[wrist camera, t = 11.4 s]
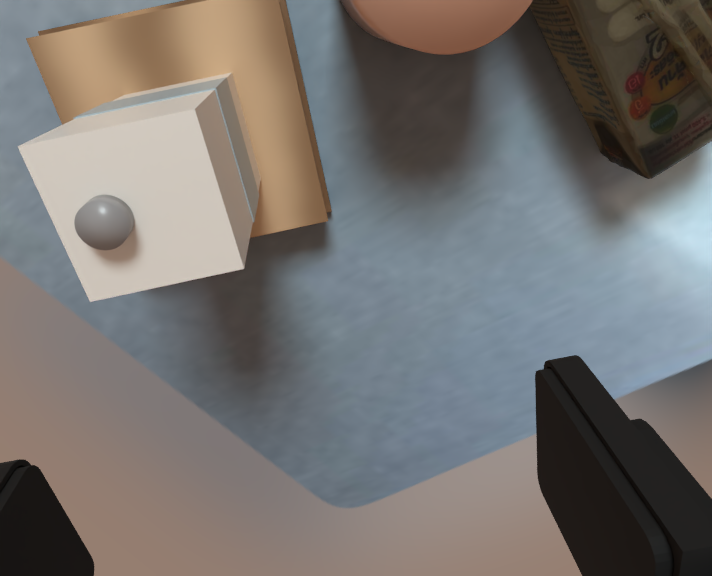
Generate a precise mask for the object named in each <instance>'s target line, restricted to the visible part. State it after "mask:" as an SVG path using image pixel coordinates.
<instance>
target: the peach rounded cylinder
mask: <svg viewBox="0 0 712 576" xmlns="http://www.w3.org/2000/svg"><path fill="white" fill-rule="evenodd" d="M532 1H533V0H341V2H342V4H343V6H344V8H345V9H346V11H347V12H348V14H349V15H350V17H351V18H352V19H353V20H354V21H355V22H356V23H357V24H358V25H359V26H360V27H361V28H362V29H363V30H364V31H366V32H367V33H369V34H370V35H372V36H374V37H376V38H378V39H380V40H383V41H386V42H389V43H393V44H397V45H400V46H404V47H407V48H411V49H414V50H418V51H422V52H425V53H432V54H457V53H463V52H467V51H471V50H474V49H477V48H479V47H481V46H484V45H486V44H488V43H489V42H491V41H493V40H494V39H496V38H498V37H499V36H501V35H502V34H503V33H504V32H506V31H507V30H508V29H509V28H510V27H511V26H512V25H513V24H514V23H515V22H517V21H518V20H519V18H520V17H521V16H522V15H523V13H524V12H525V11H526V10H527V9H528V7H529V6H530V4H531V3H532Z"/></svg>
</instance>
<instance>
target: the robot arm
mask: <svg viewBox="0 0 712 576" xmlns="http://www.w3.org/2000/svg"><path fill="white" fill-rule="evenodd" d="M535 383H536V428H537V472H538V481H539V485H540V488H541V491H542V494H543V496H544V498H545V500H546V502H547V504H548V506H549V508H550V511H551V513H552V515H553V517H554V519H555V521H556V523H557V525H558V527H559V529H560V531H561V533H562V535H563V537H564V539H565V541H566V543H567V545H568V547H569V549H570V551H571V553H572V555H573V557H574V559H575V562H576V563H577V566H578V568H579V570H580V572H581V574H582V576H712V499H711V498H710V497H709V496H708V494H707V493H706V492H705V491H704V489H703V488H702V487H701V486H700V485H699V483H698V482H697V481H696V480H695V478H694V477H693V476H692V475H691V474H690V472H689V471H688V470H687V469H686V468H685V466H684V465H683V464H682V463H681V462H680V460H679V459H678V458H677V457H676V456H675V454H674V453H673V452H672V451H671V450H670V448H669V447H668V446H667V445H666V444H665V442H664V441H663V440H662V439H661V438H660V436H659V435H658V434H657V433H656V431H655V430H654V429H653V428H652V427H651V426H650V425H649V424H648V423H647V422H646V421H644V420H642V419H635V420H630V419H629V418H628V417H627V416H626V414H625V413H624V412H623V411H622V409H621V408H620V407H619V406H618V404H617V403H616V402H615V400H614V399H613V398H612V397H611V395H610V394H609V393H608V392H607V390H606V389H605V388H604V387H603V385H602V384H601V383H600V381H599V380H598V379H597V378H596V376H595V375H594V374H593V373H592V371H591V370H590V369H589V368H588V366H587V365H586V364H585V363H584V361H583V360H582V359H581V358H580V357H579V356H577V355H574V356H569V357H564V358H558V359H553V360H548V361H546V362H545V364H544V369H543V370H538V371H536V375H535ZM0 576H94V562H93V559H92V557H91V555H90V554H89V552H88V550H87V548H86V547H85V545H84V543H83V542H82V540H81V538H80V536H79V535H78V533H77V531H76V530H75V528H74V526H73V525H72V523H71V521H70V519H69V518H68V516H67V515H66V513H65V511H64V509H63V508H62V506H61V504H60V503H59V501H58V499H57V498H56V496H55V494H54V492H53V491H52V489H51V487H50V486H49V484H48V482H47V481H46V479H45V477H44V475H43V474H42V472H41V470H40V469H39V468H38V467H37V466H35V465H30V463H29V462H28V461H26V460H15V461H9V462H4V463H0Z"/></svg>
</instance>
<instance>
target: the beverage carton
mask: <svg viewBox="0 0 712 576" xmlns="http://www.w3.org/2000/svg"><path fill="white" fill-rule="evenodd" d="M529 7H530V9H531V11H532V13H533V15H534V17H535V19H536V21H537V23H538V25H539V27H540V29H541V31H542V34H543V36H544V38H545V40H546V42H547V44H548V46H549V48H550V50H551V53H552V55H553V57H554V59H555V61H556V63H557V65H558V67H559V69H560V71H561V73H562V75H563V77H564V79H565V81H566V83H567V85H568V87H569V90H570V92H571V94H572V96H573V98H574V100H575V102H576V104H577V106H578V107H579V109H580V111H581V113H582V115H583V117H584V118H585V120H586V122H587V124H588V126H589V128H590V130H591V132H592V134H593V136H594V138H595V140H596V142H597V145H598V147H599V149H600V152H601V153H602V154H603V155H604V156H606V157H607V158H608V159H609V161H611V162H614V163H616V164H618V165H619V166H621V167H624V168H627V169H630V170H632V171H634V172H635V173H637V174H639V175H641V176H643V177H645V178H647V179H650V178H653V177H655V176H656V175H658V174H660V173H662V172H663V171H665V170H666V169H668V168H670V167H671V166H673V165H674V164H676V163H677V162H679V161H681V160H682V159H684V158H686V157H687V156H688V155H690V154H691V153H693V152H694V151H696V150H698V149H699V148H701V147H702V146H704V145H706V144H707V143H709V142H711V141H712V0H533V1H532V3H531V4H530V6H529Z"/></svg>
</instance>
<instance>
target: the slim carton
mask: <svg viewBox="0 0 712 576" xmlns="http://www.w3.org/2000/svg"><path fill="white" fill-rule="evenodd" d="M73 119H74V120H71V121H69V122H67V123H65V124H63V125H61V126H59V127H57V128H55V129H53V130H51V131H49V132H47V133H45V134H42V135H40V136H38V137H36V138H34V139H32V140H30V141H28V142H26V143H24V144H22V145H20V146H18V148H19V150H20V153H21V155H22V157H23V159H24V161H25V163H26V165H27V168H28V170H29V172H30V174H31V176H32V178H33V180H34V183H35V185H36V187H37V189H38V191H39V193H40V195H41V198H42V200H43V202H44V204H45V206H46V208H47V210H48V213H49V215H50V217H51V219H52V221H53V223H54V225H55V228H56V230H57V232H58V234H59V236H60V238H61V240H62V243H63V245H64V247H65V249H66V251H67V253H68V255H69V258H70V260H71V262H72V264H73V266H74V268H75V270H76V273H77V275H78V277H79V279H80V281H81V283H82V285H83V288H84V290H85V292H86V294H87V296H88V298H89V300H90V302H92V301H97V300H101V299H106V298H111V297H115V296H120V295H125V294H129V293H134V292H139V291H143V290H148V289H153V288H157V287H162V286H167V285H171V284H176V283H181V282H185V281H190V280H195V279H199V278H204V277H209V276H213V275H218V274H223V273H227V272H232V271H237V270H241V269H244V267H245V262H246V256H247V251H248V246H249V240H250V235H251V229H252V224H253V222H255V216H256V210H257V205H258V199H259V186H260V181H261V177H260V173H259V169H258V166H257V162H256V158H255V155H254V151H253V147H252V143H251V140H250V136H249V132H248V129H247V125H246V121H245V118H244V114H243V110H242V107H241V103H240V99H239V96H238V92H237V88H236V84H235V81H234V77H233V73H232V72H231V73H227V74H222V75H217V76H212V77H208V78H203V79H198V80H193V81H189V82H184V83H179V84H174V85H170V86H165V87H160V88H155V89H151V90H146V91H141V92H136V93H132V94H127V95H123V96H121V97H119V98H117V99H115V100H113V101H111V102H106V103H103V104H101V105H99V106H97V107H95V108H93V109H91V110H88V111H86V112H84V113H82V114H80V115H78V116H76V117H74V118H73Z"/></svg>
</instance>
